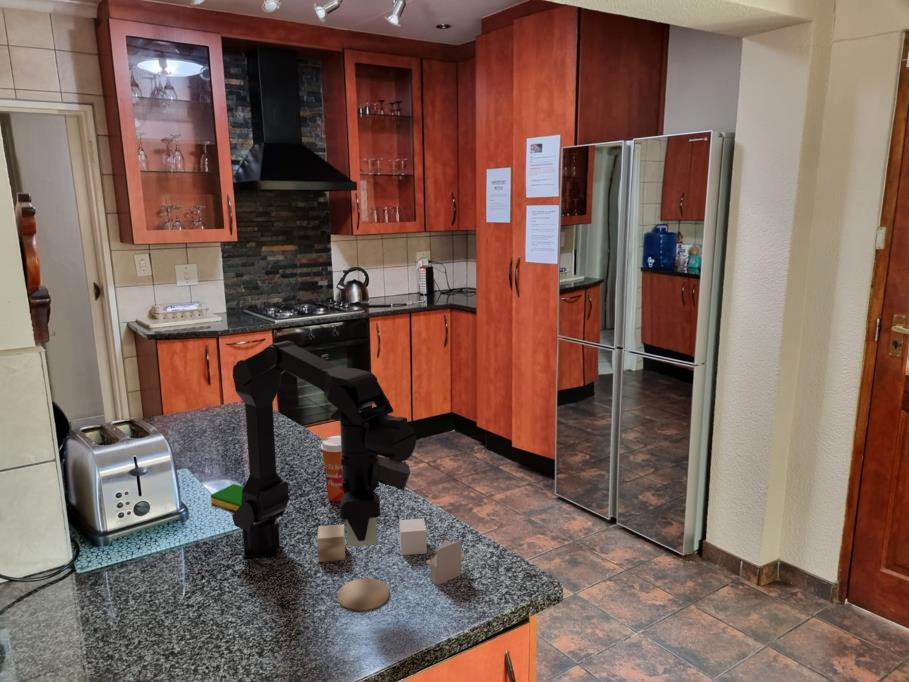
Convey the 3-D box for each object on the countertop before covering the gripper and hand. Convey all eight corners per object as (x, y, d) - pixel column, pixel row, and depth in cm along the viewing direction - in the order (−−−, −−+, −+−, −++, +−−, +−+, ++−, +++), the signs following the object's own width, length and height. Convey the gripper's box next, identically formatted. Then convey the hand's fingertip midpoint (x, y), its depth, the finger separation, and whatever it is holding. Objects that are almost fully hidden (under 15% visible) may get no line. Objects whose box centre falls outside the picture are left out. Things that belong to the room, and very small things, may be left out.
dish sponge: (253, 518, 145) (252, 508, 144) (210, 504, 152) (209, 494, 151) (276, 505, 151) (276, 495, 150) (234, 492, 158) (233, 483, 157)
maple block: (318, 562, 126) (317, 538, 125) (319, 549, 131) (318, 526, 130) (344, 560, 127) (343, 536, 126) (345, 547, 132) (344, 524, 131)
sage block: (347, 546, 110) (346, 519, 109) (347, 532, 115) (346, 506, 114) (377, 544, 111) (376, 517, 110) (376, 530, 116) (375, 504, 115)
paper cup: (316, 500, 152) (313, 443, 149) (334, 487, 159) (332, 433, 156) (345, 506, 149) (343, 448, 147) (362, 492, 156) (360, 437, 154)
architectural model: (425, 579, 121) (424, 542, 120) (455, 567, 125) (454, 531, 124) (436, 587, 118) (436, 550, 117) (466, 574, 123) (466, 538, 121)
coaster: (337, 612, 110) (336, 610, 110) (338, 583, 119) (338, 580, 119) (390, 608, 112) (390, 605, 112) (388, 578, 120) (387, 576, 120)
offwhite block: (401, 555, 129) (400, 532, 128) (399, 542, 133) (399, 520, 132) (426, 553, 129) (426, 530, 128) (424, 541, 134) (423, 518, 133)
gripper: (411, 466, 102) (412, 557, 105) (402, 426, 120) (404, 505, 123) (338, 470, 100) (342, 563, 103) (341, 429, 118) (344, 509, 122)
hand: (361, 532), depth 113 cm, fingers closed on sage block, 5 cm apart
